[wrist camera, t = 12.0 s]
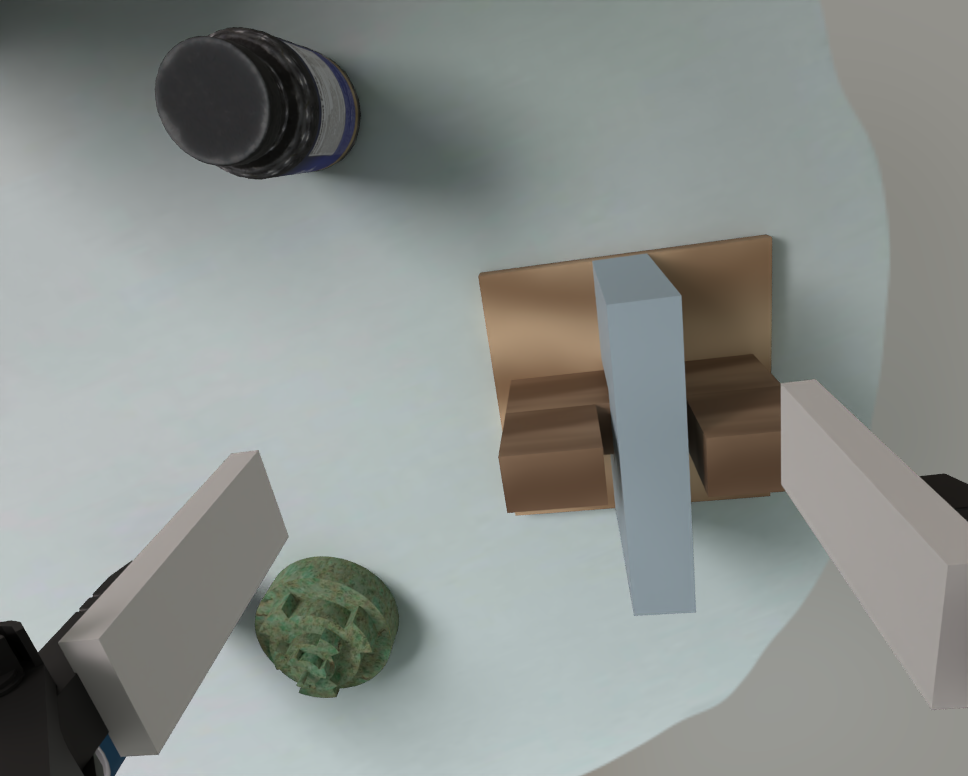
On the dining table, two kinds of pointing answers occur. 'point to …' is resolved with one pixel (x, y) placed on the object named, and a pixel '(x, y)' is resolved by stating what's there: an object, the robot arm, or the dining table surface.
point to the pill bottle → (256, 104)
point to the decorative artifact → (327, 624)
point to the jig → (583, 387)
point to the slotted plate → (648, 430)
